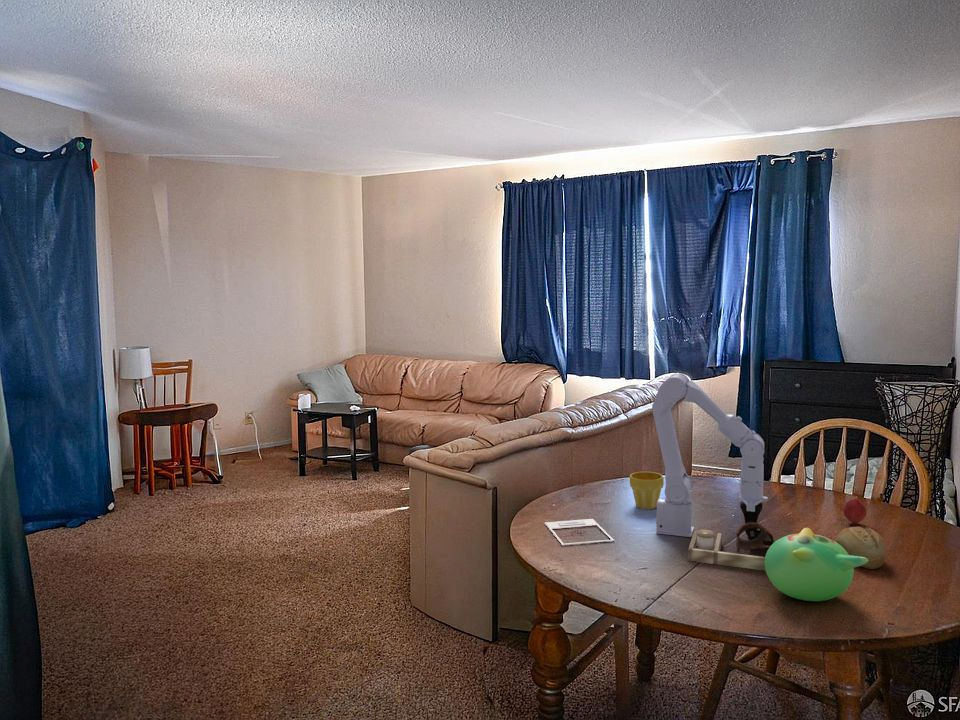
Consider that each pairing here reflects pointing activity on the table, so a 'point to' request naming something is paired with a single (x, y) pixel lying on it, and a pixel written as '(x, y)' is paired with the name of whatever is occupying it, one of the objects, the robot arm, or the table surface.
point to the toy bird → (810, 566)
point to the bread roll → (863, 545)
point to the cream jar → (705, 539)
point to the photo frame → (574, 524)
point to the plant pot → (646, 488)
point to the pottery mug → (753, 536)
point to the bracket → (723, 556)
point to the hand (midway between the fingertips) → (750, 529)
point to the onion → (854, 510)
